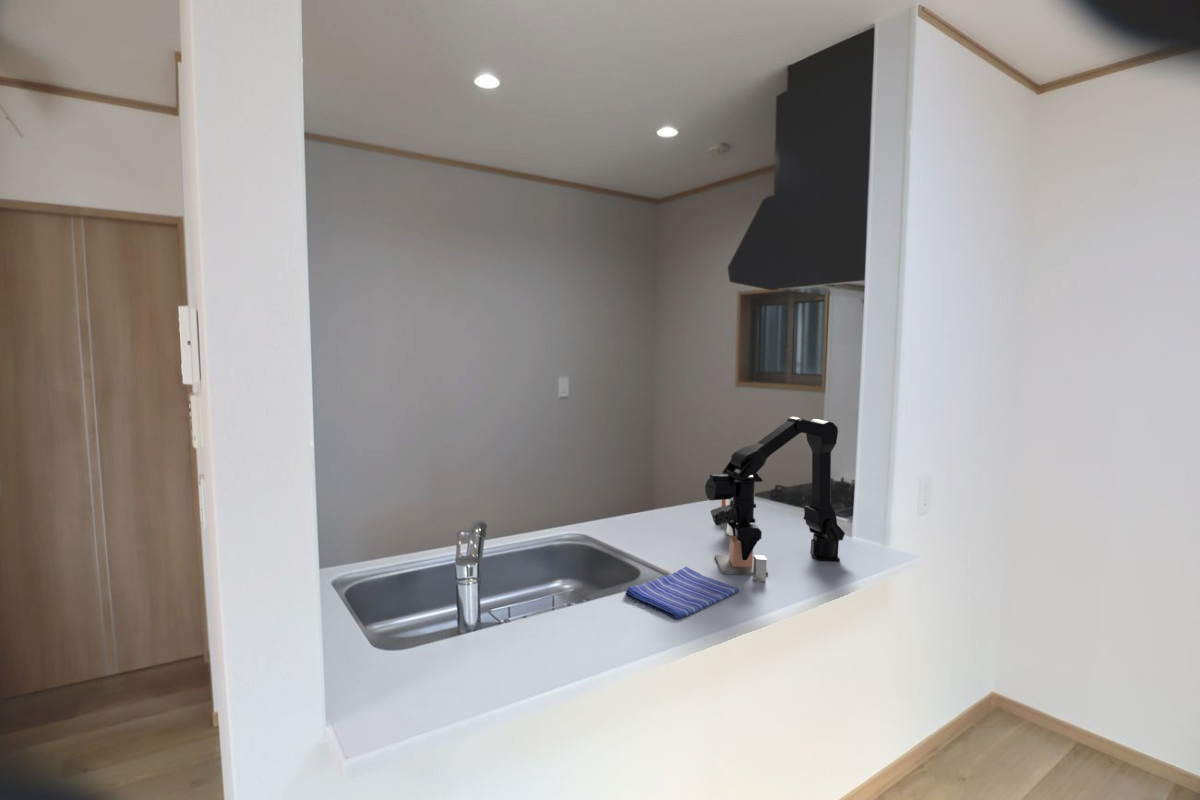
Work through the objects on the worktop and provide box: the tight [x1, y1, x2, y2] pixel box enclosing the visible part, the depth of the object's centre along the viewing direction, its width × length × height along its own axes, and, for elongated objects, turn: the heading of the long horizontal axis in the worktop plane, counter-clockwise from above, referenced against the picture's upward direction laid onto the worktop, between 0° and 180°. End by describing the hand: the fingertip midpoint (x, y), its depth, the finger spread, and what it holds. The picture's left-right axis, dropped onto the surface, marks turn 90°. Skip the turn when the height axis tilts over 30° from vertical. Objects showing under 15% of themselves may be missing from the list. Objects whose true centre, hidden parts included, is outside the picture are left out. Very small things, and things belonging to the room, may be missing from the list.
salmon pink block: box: [728, 536, 754, 567], centre depth 160 cm, size 5×5×7 cm
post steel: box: [752, 554, 768, 583], centre depth 151 cm, size 3×3×6 cm
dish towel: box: [624, 566, 740, 620], centre depth 142 cm, size 17×24×3 cm
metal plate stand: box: [714, 554, 769, 576], centre depth 160 cm, size 12×12×6 cm
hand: (741, 553), depth 160 cm, fingers open, 9 cm apart
